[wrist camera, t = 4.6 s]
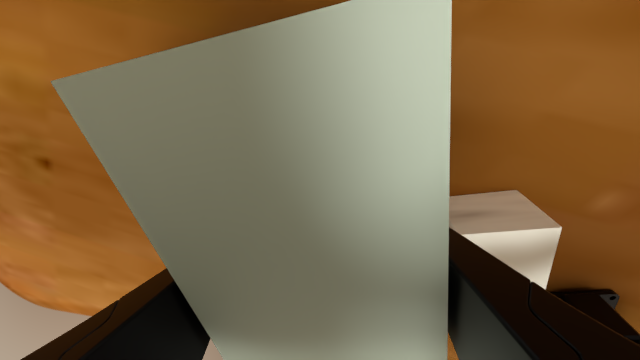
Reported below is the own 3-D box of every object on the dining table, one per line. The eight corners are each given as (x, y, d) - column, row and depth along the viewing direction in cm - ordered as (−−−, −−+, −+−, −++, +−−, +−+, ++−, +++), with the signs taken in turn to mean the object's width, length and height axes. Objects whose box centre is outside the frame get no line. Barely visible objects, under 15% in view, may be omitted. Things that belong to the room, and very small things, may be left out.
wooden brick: (417, 313, 12) (446, 425, 8) (285, 318, 13) (260, 418, 9) (398, 14, 7) (452, -27, 3) (184, 68, 8) (50, 81, 4)
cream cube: (506, 247, 23) (544, 294, 18) (435, 251, 24) (455, 297, 19) (515, 189, 20) (562, 227, 16) (436, 197, 21) (458, 234, 17)
